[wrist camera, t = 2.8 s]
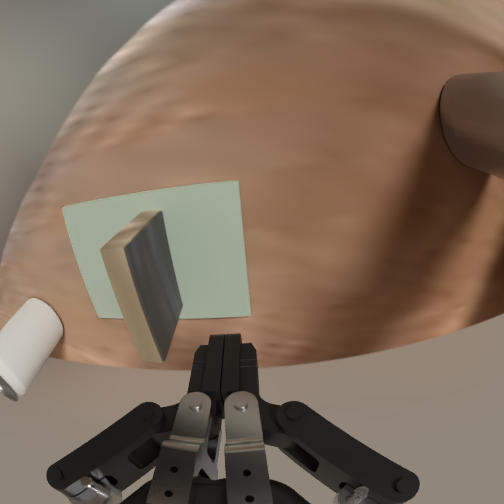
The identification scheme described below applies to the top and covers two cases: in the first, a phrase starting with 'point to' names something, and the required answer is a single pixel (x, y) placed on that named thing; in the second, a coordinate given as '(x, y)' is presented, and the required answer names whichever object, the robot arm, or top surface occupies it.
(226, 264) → the mat
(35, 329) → the can
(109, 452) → the robot arm
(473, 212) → the top surface
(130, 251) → the tile
